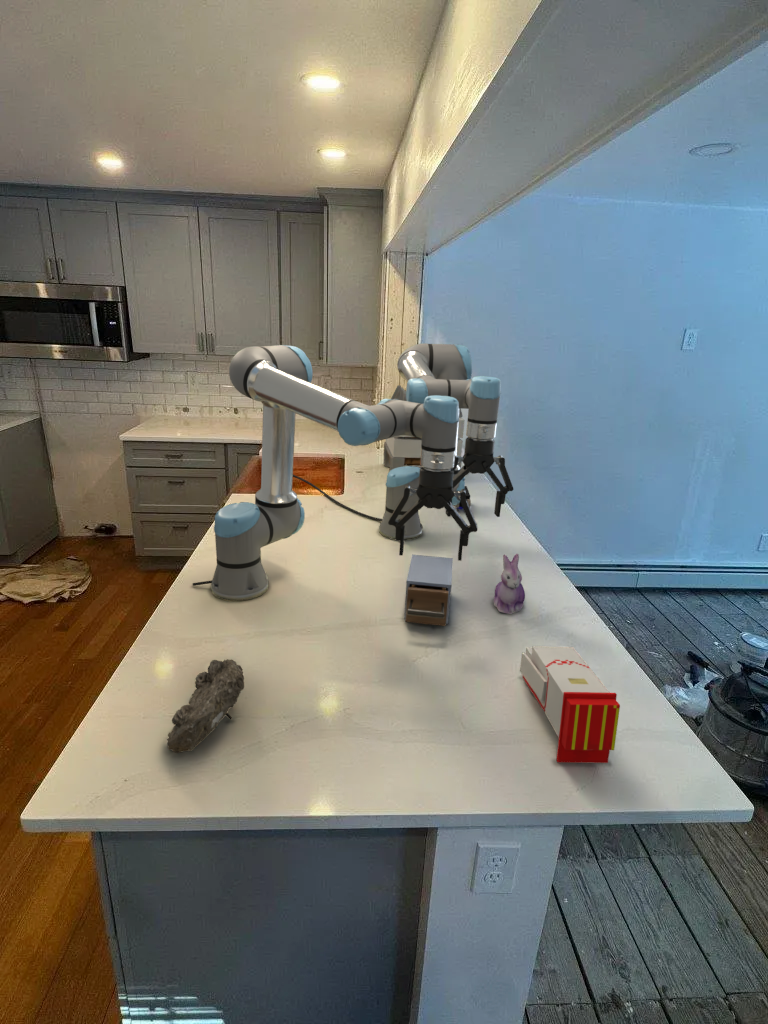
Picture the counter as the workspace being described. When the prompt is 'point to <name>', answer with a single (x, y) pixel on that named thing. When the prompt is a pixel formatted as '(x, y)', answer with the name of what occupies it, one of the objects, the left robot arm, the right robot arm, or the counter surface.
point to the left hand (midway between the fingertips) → (430, 555)
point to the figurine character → (466, 499)
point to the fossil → (206, 705)
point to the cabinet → (430, 574)
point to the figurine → (509, 587)
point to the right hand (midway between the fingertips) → (472, 515)
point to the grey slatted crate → (410, 443)
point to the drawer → (427, 605)
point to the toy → (572, 703)
